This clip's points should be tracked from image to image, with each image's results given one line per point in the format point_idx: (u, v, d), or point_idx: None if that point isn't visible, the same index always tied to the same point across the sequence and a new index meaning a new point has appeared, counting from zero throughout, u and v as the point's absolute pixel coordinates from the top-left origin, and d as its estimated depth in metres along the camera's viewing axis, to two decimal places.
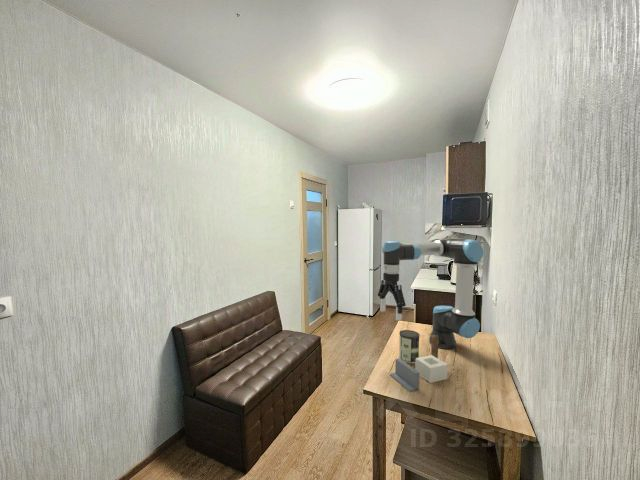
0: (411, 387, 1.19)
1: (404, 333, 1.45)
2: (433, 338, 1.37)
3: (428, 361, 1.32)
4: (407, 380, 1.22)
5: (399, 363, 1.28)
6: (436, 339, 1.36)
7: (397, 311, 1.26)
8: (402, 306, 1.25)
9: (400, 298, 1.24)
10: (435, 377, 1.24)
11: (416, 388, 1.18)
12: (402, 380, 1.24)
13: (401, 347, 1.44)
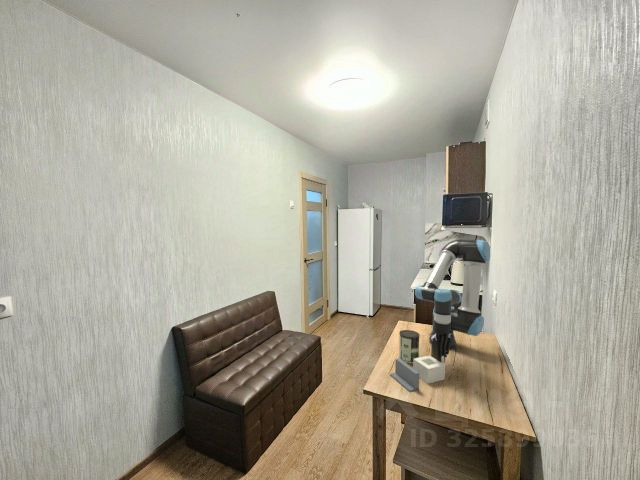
0: (411, 387, 1.19)
1: (404, 333, 1.45)
2: None
3: (426, 361, 1.32)
4: (407, 380, 1.22)
5: (399, 363, 1.28)
6: None
7: (438, 359, 1.32)
8: (438, 356, 1.30)
9: (433, 348, 1.30)
10: (433, 378, 1.24)
11: (416, 388, 1.18)
12: (402, 380, 1.24)
13: (401, 347, 1.44)
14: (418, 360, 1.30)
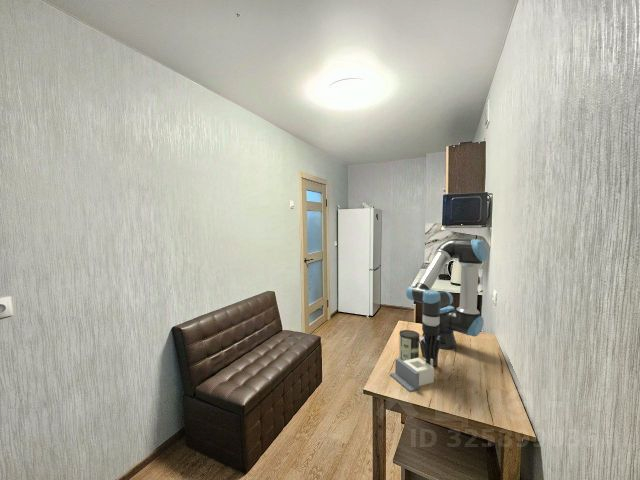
0: (411, 387, 1.19)
1: (404, 333, 1.45)
2: None
3: (415, 364, 1.29)
4: (407, 380, 1.22)
5: (399, 363, 1.28)
6: None
7: None
8: (427, 359, 1.28)
9: (422, 351, 1.28)
10: (421, 380, 1.22)
11: (416, 388, 1.18)
12: (402, 380, 1.24)
13: (401, 347, 1.44)
14: (407, 362, 1.28)
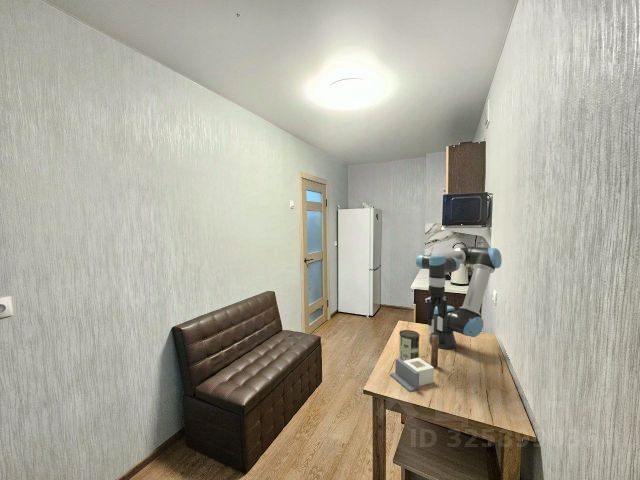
0: (411, 387, 1.19)
1: (404, 333, 1.45)
2: (433, 338, 1.37)
3: (415, 364, 1.29)
4: (407, 380, 1.22)
5: (399, 363, 1.28)
6: (436, 339, 1.36)
7: None
8: (429, 319, 1.35)
9: (425, 310, 1.35)
10: (422, 380, 1.22)
11: (416, 388, 1.18)
12: (402, 380, 1.24)
13: (401, 347, 1.44)
14: (407, 362, 1.28)
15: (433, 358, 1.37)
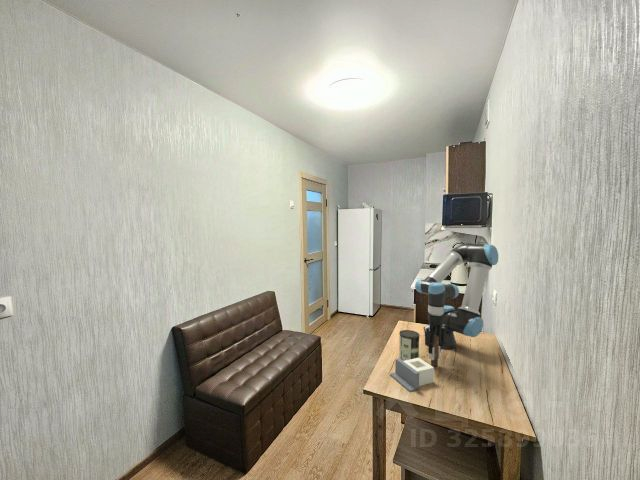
0: (411, 387, 1.19)
1: (404, 333, 1.45)
2: None
3: (415, 364, 1.29)
4: (407, 380, 1.22)
5: (399, 363, 1.28)
6: (436, 339, 1.36)
7: None
8: (429, 347, 1.36)
9: (425, 339, 1.36)
10: (422, 380, 1.22)
11: (416, 388, 1.18)
12: (402, 380, 1.24)
13: (401, 347, 1.44)
14: (407, 362, 1.28)
15: None
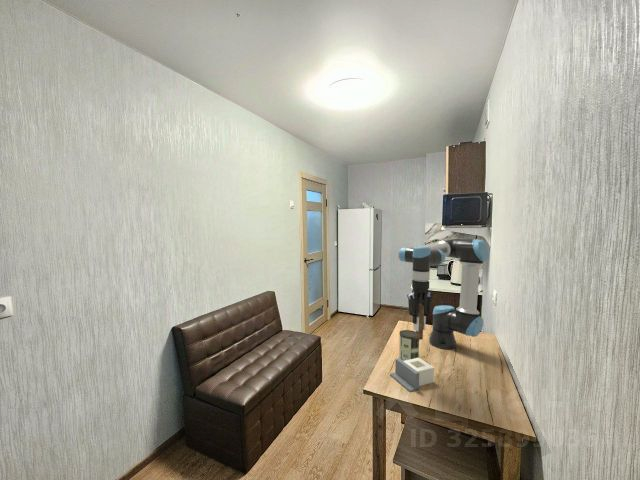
0: (411, 387, 1.19)
1: (404, 333, 1.45)
2: None
3: (415, 364, 1.29)
4: (407, 380, 1.22)
5: (399, 363, 1.28)
6: (421, 308, 1.24)
7: None
8: (413, 316, 1.24)
9: (409, 307, 1.24)
10: (422, 380, 1.22)
11: (416, 388, 1.18)
12: (402, 380, 1.24)
13: (401, 347, 1.44)
14: (407, 362, 1.28)
15: None
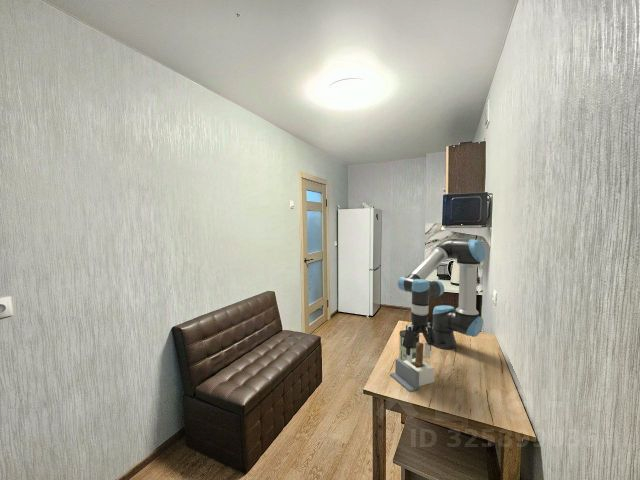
0: (411, 387, 1.19)
1: (404, 333, 1.45)
2: (417, 347, 1.24)
3: None
4: (407, 380, 1.22)
5: (399, 363, 1.28)
6: (421, 348, 1.24)
7: None
8: (407, 348, 1.23)
9: (404, 338, 1.24)
10: (422, 380, 1.22)
11: (416, 388, 1.18)
12: (402, 380, 1.24)
13: (401, 347, 1.44)
14: (407, 362, 1.28)
15: None
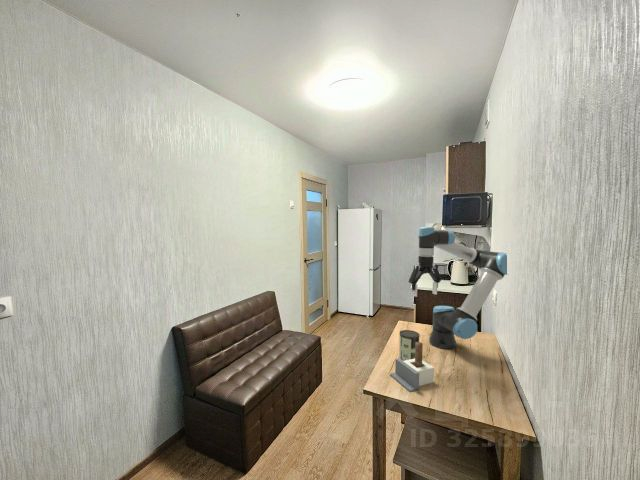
0: (411, 387, 1.19)
1: (404, 333, 1.45)
2: (417, 346, 1.25)
3: None
4: (407, 380, 1.22)
5: (399, 363, 1.28)
6: (420, 347, 1.25)
7: None
8: (412, 283, 1.41)
9: (411, 276, 1.42)
10: (422, 380, 1.22)
11: (416, 388, 1.18)
12: (402, 380, 1.24)
13: (401, 347, 1.44)
14: (407, 362, 1.28)
15: None
